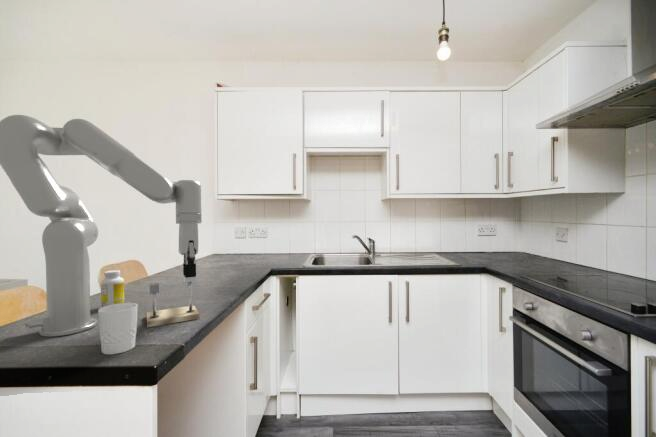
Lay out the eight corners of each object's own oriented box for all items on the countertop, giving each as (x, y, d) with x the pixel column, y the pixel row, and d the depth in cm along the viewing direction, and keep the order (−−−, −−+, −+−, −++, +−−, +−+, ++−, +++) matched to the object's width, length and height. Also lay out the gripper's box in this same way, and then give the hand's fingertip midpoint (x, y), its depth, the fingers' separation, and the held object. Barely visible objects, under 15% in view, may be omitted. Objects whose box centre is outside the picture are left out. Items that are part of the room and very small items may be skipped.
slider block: (185, 311, 98) (185, 264, 98) (184, 308, 101) (183, 263, 101) (195, 309, 99) (195, 264, 99) (194, 306, 102) (193, 262, 102)
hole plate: (147, 327, 89) (147, 321, 89) (146, 316, 99) (146, 311, 99) (199, 318, 96) (199, 313, 96) (194, 309, 106) (194, 304, 106)
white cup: (124, 340, 80) (123, 301, 80) (145, 344, 77) (145, 304, 77) (90, 352, 72) (90, 310, 72) (113, 358, 69) (112, 313, 69)
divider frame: (150, 316, 92) (149, 285, 92) (149, 314, 95) (149, 283, 95) (197, 309, 99) (197, 280, 99) (196, 307, 102) (195, 279, 102)
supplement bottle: (126, 304, 114) (126, 269, 114) (121, 309, 107) (120, 272, 107) (105, 306, 112) (104, 270, 112) (98, 311, 105) (97, 273, 105)
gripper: (173, 219, 105) (174, 273, 105) (178, 219, 91) (179, 281, 91) (197, 218, 109) (198, 271, 109) (205, 218, 95) (206, 278, 95)
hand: (189, 275), depth 100 cm, fingers closed on slider block, 3 cm apart
